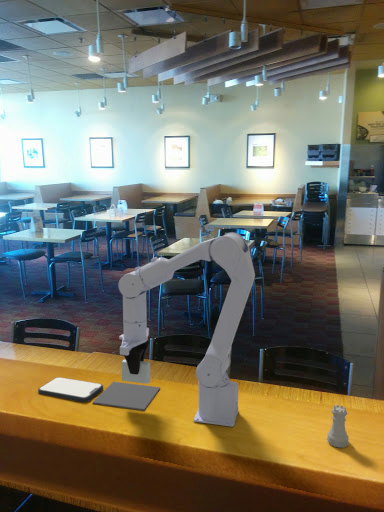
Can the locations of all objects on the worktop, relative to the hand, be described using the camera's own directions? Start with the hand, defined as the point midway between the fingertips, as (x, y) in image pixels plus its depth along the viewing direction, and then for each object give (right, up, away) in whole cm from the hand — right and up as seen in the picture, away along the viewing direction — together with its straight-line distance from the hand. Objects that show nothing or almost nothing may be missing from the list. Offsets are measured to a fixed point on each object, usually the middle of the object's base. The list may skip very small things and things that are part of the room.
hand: (135, 371), depth 104 cm
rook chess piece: (+45, -11, -15) cm, 49 cm away
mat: (-3, -8, +5) cm, 10 cm away
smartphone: (-19, -8, +8) cm, 22 cm away
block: (0, -2, 0) cm, 2 cm away
